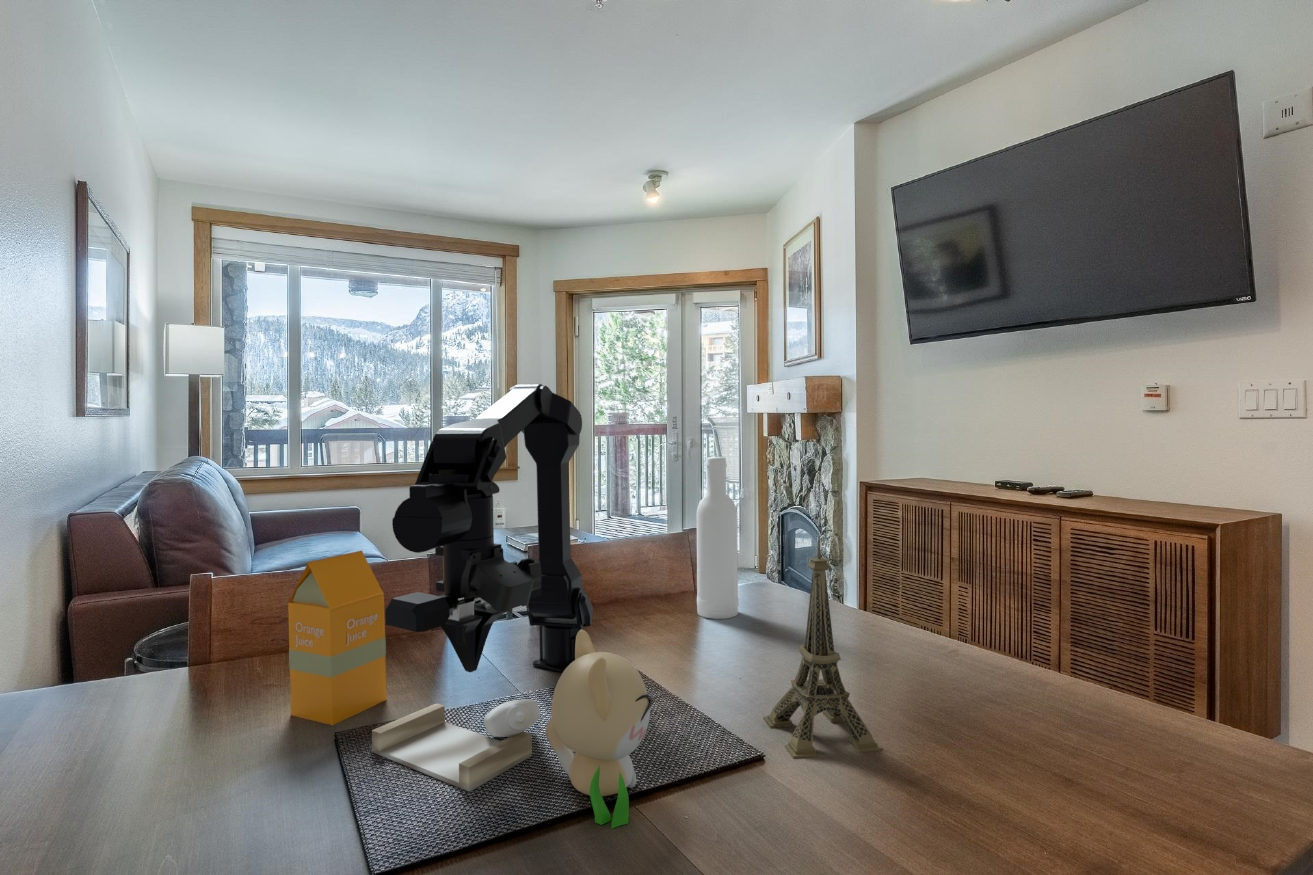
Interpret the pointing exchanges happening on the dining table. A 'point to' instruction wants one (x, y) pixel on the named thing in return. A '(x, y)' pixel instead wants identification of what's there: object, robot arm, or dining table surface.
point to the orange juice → (336, 640)
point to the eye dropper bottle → (512, 717)
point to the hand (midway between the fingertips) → (470, 670)
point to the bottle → (717, 547)
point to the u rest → (448, 748)
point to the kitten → (599, 726)
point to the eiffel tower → (817, 691)
